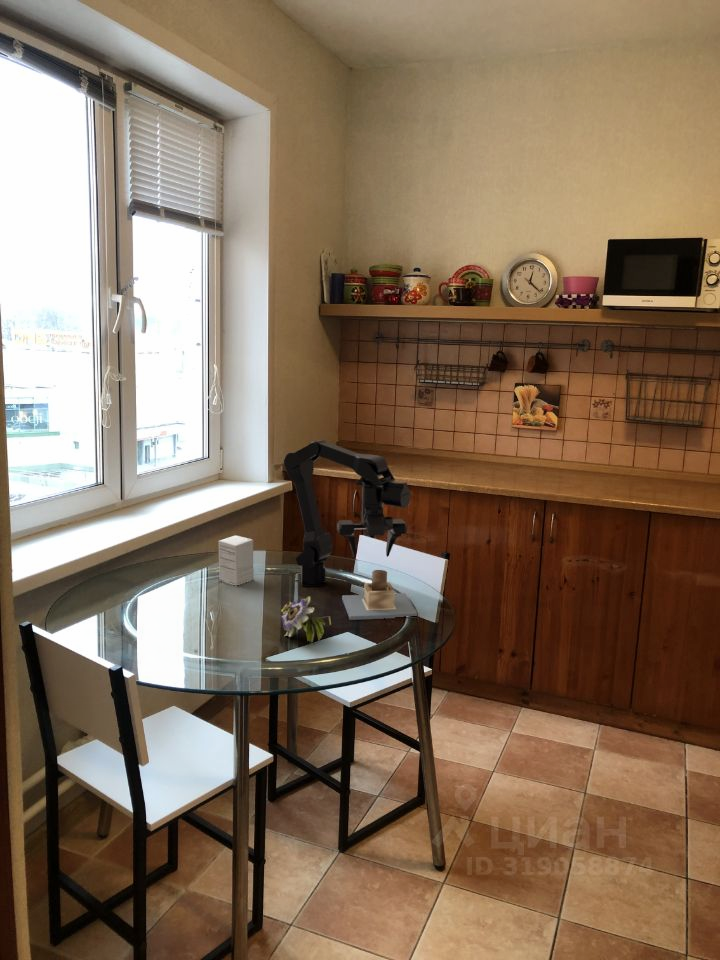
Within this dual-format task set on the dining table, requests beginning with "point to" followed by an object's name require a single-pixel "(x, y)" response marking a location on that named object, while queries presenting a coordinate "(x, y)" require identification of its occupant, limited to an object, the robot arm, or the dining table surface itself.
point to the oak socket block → (379, 597)
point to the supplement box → (236, 559)
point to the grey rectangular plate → (360, 610)
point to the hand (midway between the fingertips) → (371, 556)
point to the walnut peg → (379, 580)
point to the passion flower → (302, 619)
